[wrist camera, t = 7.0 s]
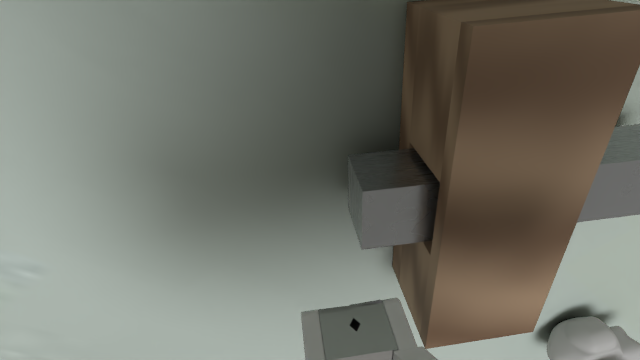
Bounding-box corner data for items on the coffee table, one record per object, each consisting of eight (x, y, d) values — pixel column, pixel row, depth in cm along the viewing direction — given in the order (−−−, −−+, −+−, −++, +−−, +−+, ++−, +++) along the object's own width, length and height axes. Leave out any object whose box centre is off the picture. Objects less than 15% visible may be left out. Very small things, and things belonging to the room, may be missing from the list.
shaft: (347, 155, 18) (362, 191, 15) (651, 122, 19) (715, 151, 16) (348, 208, 19) (361, 249, 17) (627, 175, 21) (681, 209, 18)
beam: (407, 2, 16) (473, 26, 11) (539, -10, 16) (662, 7, 11) (392, 266, 24) (425, 348, 19) (478, 254, 25) (533, 331, 20)
